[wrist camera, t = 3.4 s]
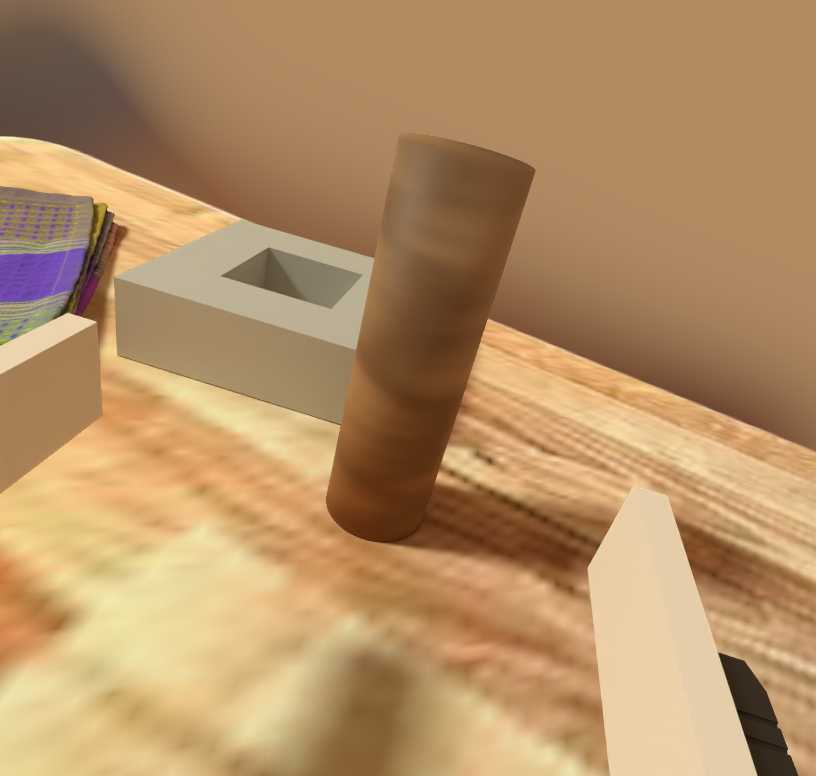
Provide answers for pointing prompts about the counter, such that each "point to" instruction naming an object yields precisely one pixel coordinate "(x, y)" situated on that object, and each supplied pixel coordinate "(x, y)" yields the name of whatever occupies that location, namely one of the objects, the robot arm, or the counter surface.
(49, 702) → the counter surface
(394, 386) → the walnut dowel
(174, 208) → the counter surface
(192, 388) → the counter surface
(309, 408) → the socket block
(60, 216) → the dish towel
